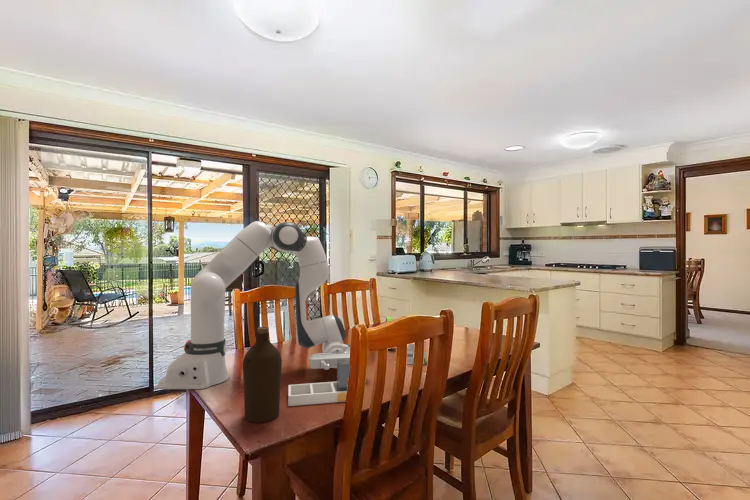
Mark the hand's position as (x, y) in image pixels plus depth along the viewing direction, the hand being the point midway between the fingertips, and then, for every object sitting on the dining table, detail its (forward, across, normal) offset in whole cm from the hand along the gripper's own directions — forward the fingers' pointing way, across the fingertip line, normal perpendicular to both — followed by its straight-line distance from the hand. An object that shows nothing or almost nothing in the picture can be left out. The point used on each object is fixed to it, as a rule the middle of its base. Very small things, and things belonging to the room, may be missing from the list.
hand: (340, 366), depth 128 cm
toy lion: (-48, +29, +8) cm, 57 cm away
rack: (+6, -7, +8) cm, 12 cm away
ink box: (-23, +34, +8) cm, 42 cm away
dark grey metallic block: (+6, 0, +8) cm, 10 cm away
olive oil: (+16, -24, +8) cm, 30 cm away
